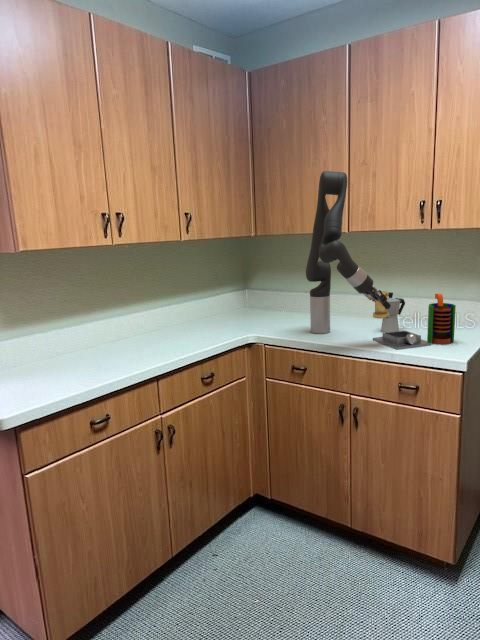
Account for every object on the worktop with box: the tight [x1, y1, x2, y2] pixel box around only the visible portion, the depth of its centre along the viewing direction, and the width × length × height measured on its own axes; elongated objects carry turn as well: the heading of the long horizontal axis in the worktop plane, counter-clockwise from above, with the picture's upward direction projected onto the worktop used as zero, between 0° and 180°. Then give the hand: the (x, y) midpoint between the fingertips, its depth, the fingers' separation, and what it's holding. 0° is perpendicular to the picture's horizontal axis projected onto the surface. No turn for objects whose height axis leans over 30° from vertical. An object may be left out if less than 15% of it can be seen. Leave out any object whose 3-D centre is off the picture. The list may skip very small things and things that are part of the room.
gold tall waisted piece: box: [372, 290, 389, 319], centre depth 198 cm, size 6×6×10 cm
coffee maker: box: [380, 291, 406, 333], centre depth 224 cm, size 15×9×18 cm, turn 115°
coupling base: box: [372, 330, 433, 351], centre depth 203 cm, size 18×16×5 cm
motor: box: [426, 292, 457, 346], centre depth 199 cm, size 10×9×20 cm
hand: (385, 306), depth 199 cm, fingers closed on gold tall waisted piece, 5 cm apart
